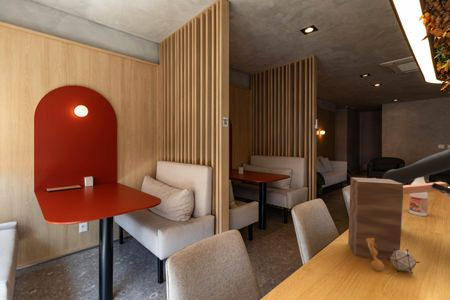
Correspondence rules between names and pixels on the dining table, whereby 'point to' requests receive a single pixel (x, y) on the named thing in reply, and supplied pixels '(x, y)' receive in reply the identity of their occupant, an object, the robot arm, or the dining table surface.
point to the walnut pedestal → (375, 216)
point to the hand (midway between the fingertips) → (429, 184)
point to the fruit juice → (418, 200)
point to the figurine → (375, 263)
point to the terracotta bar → (421, 188)
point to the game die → (403, 260)
